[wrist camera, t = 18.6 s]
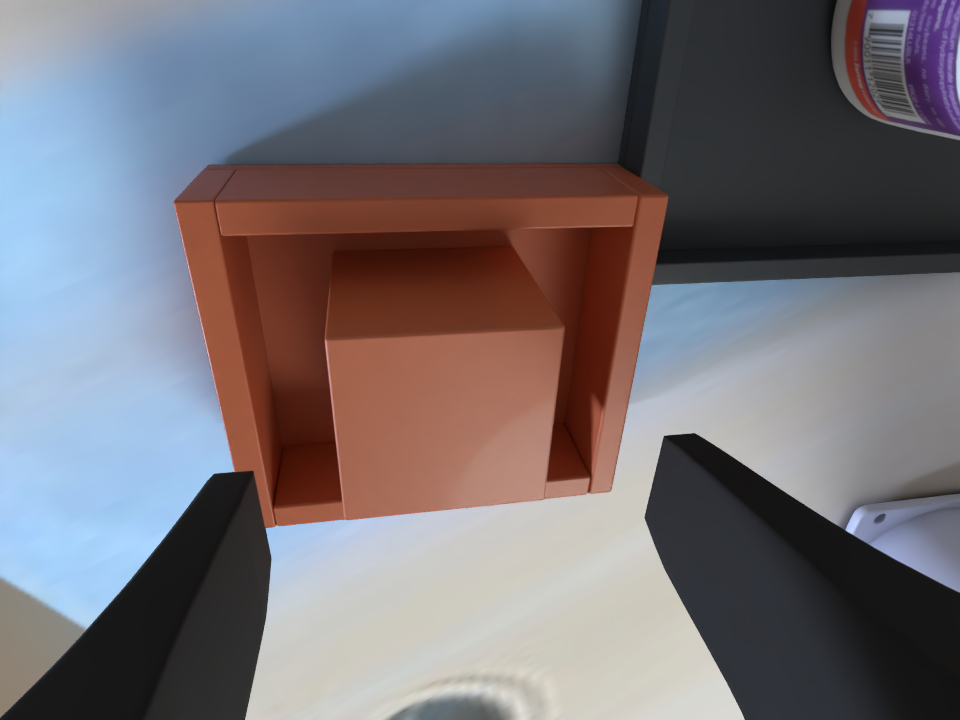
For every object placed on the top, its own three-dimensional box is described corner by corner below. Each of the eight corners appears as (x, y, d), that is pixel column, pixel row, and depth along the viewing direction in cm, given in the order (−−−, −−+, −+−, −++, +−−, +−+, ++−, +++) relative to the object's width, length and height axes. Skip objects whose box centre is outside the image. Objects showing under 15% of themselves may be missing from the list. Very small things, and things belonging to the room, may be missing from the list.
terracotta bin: (617, 162, 15) (670, 194, 13) (578, 428, 19) (611, 492, 17) (206, 164, 13) (172, 201, 11) (262, 455, 18) (246, 530, 15)
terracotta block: (513, 245, 15) (566, 325, 11) (503, 392, 17) (545, 500, 14) (332, 250, 14) (323, 338, 11) (346, 403, 17) (344, 521, 13)
